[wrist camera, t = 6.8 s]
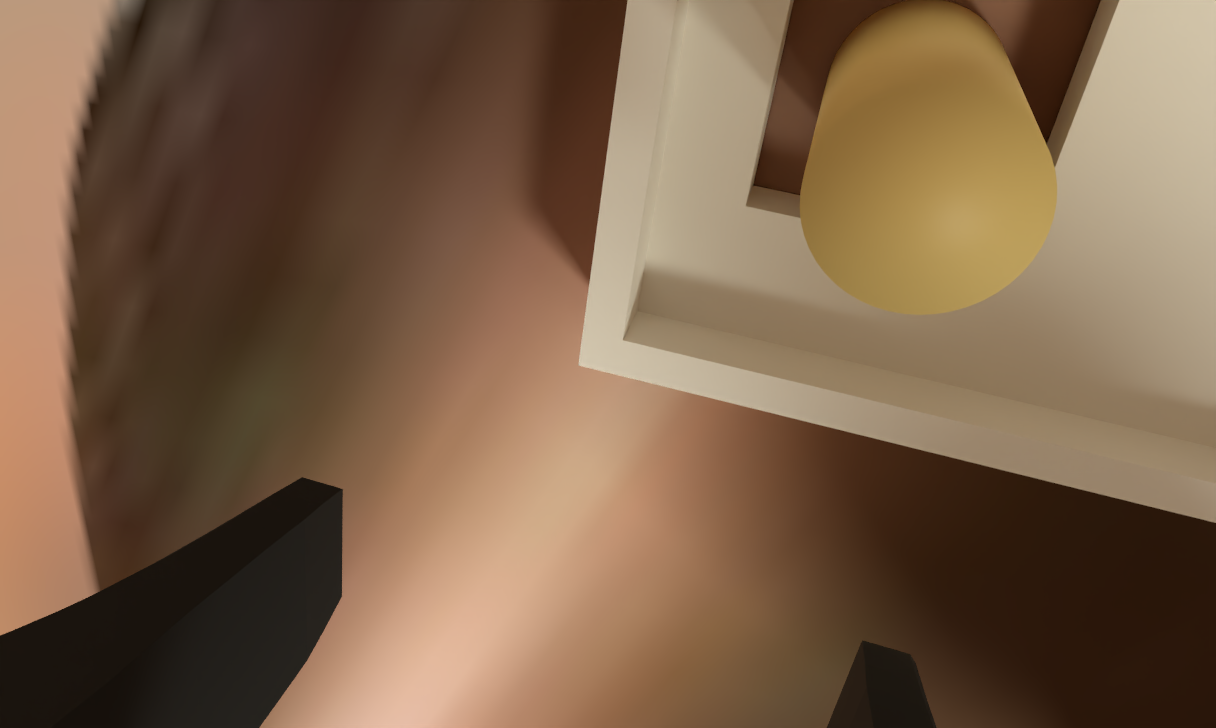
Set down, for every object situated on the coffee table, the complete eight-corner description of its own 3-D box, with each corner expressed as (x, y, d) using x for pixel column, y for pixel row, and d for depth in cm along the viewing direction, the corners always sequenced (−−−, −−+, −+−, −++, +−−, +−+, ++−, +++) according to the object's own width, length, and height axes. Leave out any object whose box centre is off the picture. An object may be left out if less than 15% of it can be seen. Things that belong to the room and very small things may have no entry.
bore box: (1710, -224, 13) (1863, -228, 11) (1282, 470, 20) (1329, 550, 18) (708, -357, 15) (679, -383, 13) (609, 310, 22) (578, 365, 20)
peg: (1038, 18, 17) (1098, 111, 12) (974, 193, 19) (1004, 339, 13) (852, -18, 17) (834, 57, 12) (807, 155, 19) (774, 284, 14)
